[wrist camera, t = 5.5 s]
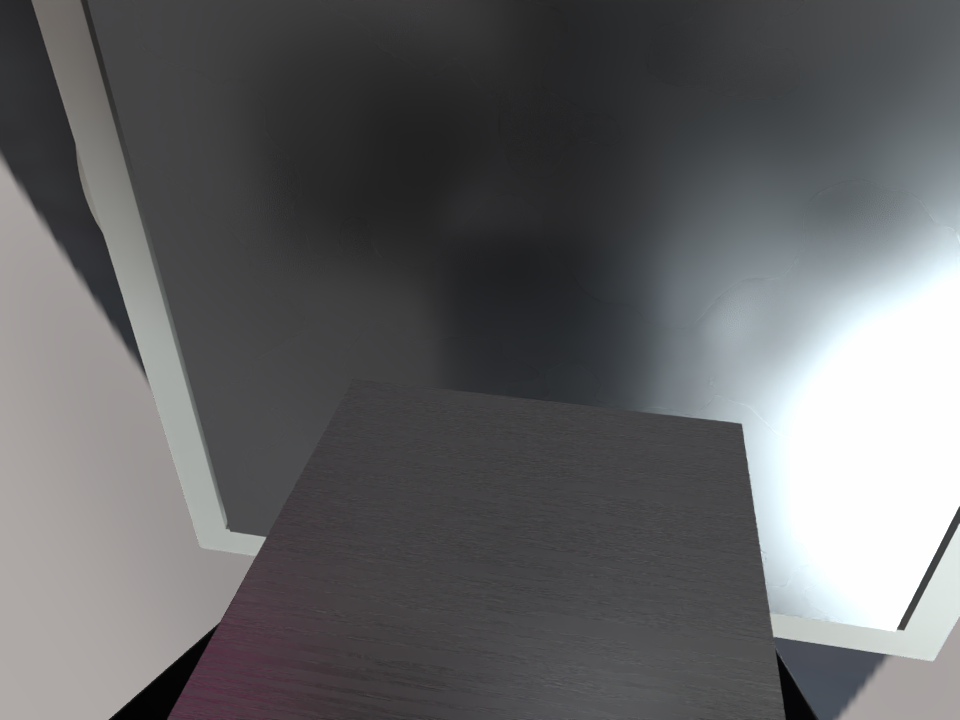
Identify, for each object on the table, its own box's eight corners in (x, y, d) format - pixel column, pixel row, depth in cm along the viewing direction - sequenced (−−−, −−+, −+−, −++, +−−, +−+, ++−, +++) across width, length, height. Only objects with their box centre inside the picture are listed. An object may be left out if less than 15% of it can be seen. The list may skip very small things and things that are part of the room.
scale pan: (881, 584, 14) (895, 631, 13) (252, 494, 15) (230, 531, 15) (1364, -456, 6) (1466, -496, 5) (43, -394, 8) (-26, -417, 7)
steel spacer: (680, 663, 11) (693, 1072, 7) (380, 615, 12) (257, 968, 8) (741, 423, 8) (807, 867, 5) (354, 379, 9) (156, 739, 6)
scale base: (874, 485, 17) (934, 661, 14) (266, 409, 19) (177, 544, 16) (1271, -487, 9) (1725, -716, 5) (97, -425, 11) (-188, -554, 7)
